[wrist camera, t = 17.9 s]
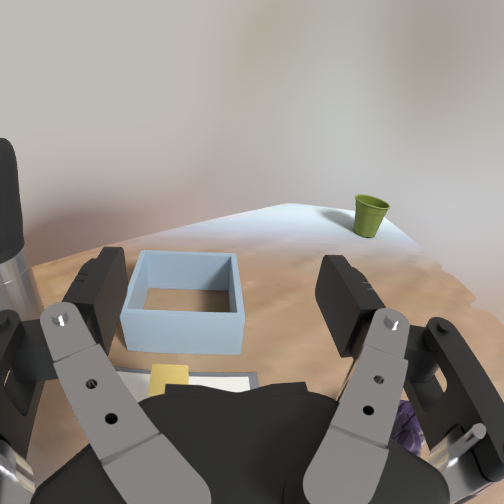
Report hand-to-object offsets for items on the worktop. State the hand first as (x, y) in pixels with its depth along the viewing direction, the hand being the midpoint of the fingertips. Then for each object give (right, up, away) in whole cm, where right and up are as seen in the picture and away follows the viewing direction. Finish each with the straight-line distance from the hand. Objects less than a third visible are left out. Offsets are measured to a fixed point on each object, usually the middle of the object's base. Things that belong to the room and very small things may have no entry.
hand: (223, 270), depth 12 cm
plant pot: (+37, +7, +82) cm, 91 cm away
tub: (-11, -11, +41) cm, 43 cm away
